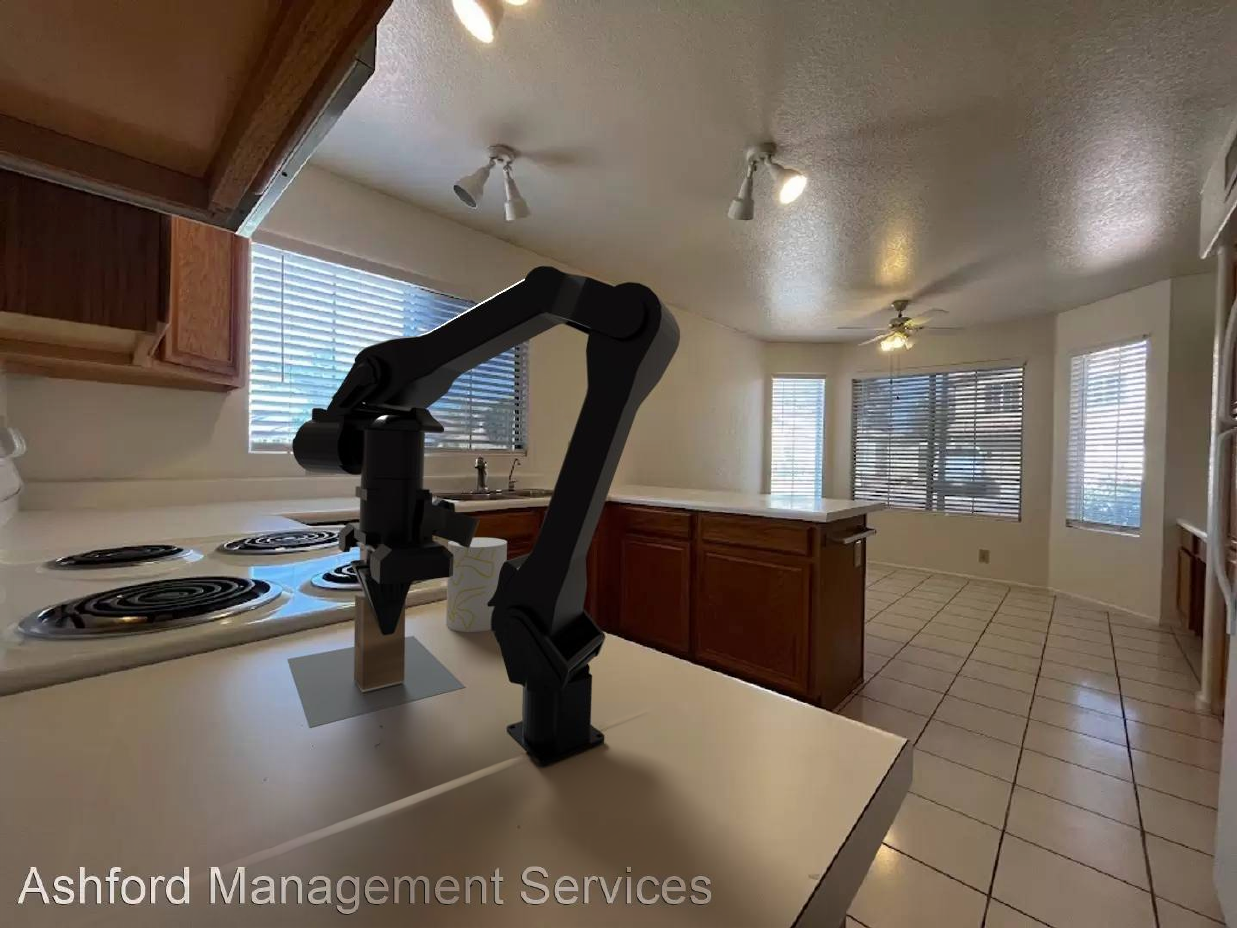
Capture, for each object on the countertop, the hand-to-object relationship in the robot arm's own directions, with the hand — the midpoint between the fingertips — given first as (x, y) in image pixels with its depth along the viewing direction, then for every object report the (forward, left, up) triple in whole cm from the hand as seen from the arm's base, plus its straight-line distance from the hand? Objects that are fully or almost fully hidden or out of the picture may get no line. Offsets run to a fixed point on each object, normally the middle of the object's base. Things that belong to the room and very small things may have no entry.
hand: (387, 633), depth 51 cm
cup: (+16, -16, -7) cm, 24 cm away
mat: (+6, 0, -7) cm, 9 cm away
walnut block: (+3, 0, -6) cm, 7 cm away
